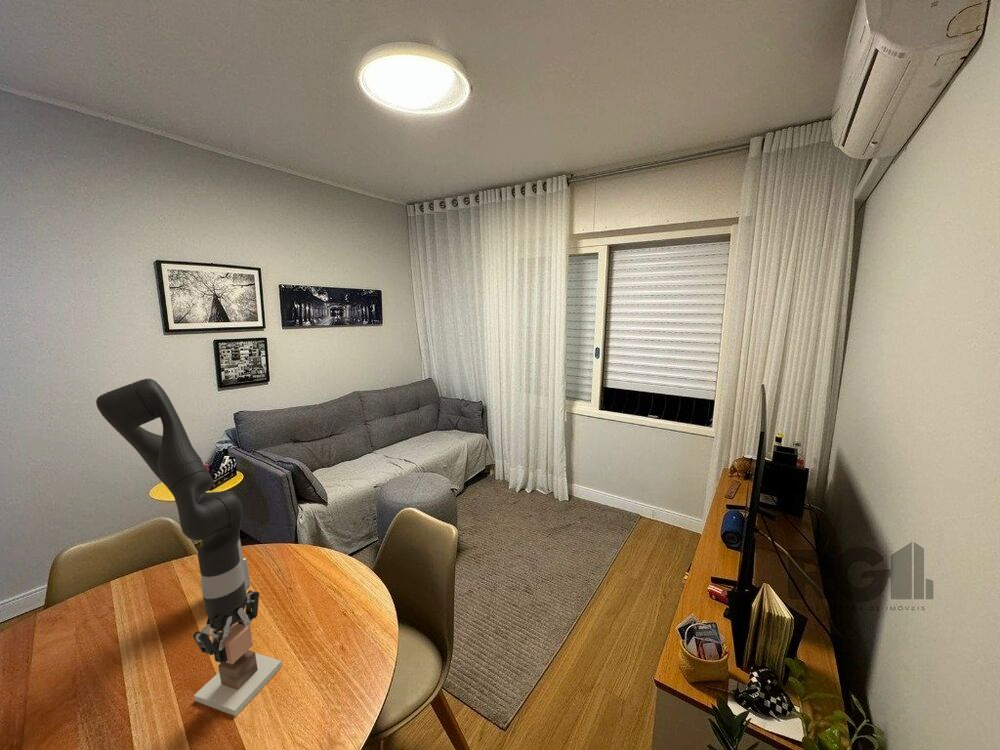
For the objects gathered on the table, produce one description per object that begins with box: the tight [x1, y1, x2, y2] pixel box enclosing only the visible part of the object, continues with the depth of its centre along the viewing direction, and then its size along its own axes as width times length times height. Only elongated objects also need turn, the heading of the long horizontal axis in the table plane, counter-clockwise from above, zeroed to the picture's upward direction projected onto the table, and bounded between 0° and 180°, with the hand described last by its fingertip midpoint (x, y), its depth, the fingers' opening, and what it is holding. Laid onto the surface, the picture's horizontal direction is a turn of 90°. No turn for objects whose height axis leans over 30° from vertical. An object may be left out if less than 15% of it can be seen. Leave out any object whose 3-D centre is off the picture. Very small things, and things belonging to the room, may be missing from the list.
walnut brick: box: [217, 649, 258, 690], centre depth 88 cm, size 5×5×5 cm
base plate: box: [193, 652, 283, 717], centre depth 88 cm, size 12×12×2 cm
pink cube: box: [218, 623, 253, 664], centre depth 87 cm, size 5×5×5 cm
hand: (234, 650), depth 87 cm, fingers closed on pink cube, 5 cm apart
